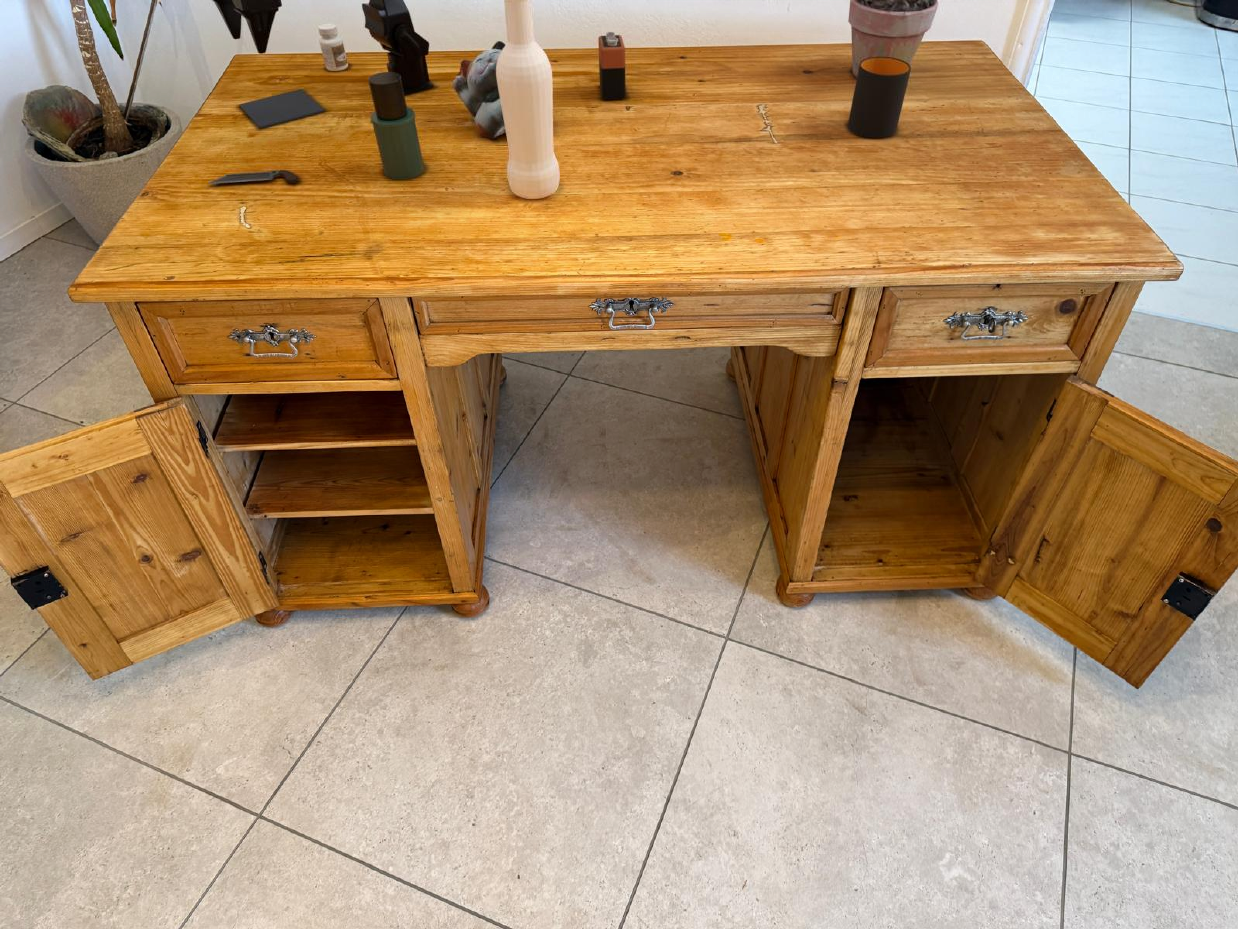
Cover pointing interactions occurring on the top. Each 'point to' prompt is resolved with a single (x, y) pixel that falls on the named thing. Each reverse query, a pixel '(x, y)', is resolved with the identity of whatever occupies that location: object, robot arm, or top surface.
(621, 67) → the battery
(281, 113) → the mat
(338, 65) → the pill bottle
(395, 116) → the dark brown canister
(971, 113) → the top surface
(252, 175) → the knife
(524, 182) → the bottle
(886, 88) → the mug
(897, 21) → the potted plant
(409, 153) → the can
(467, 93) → the lucky cat figurine
